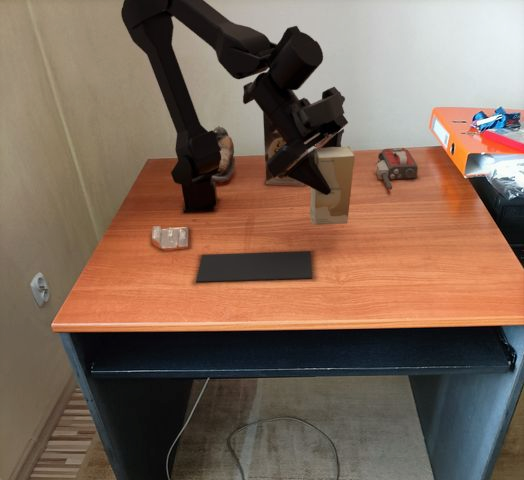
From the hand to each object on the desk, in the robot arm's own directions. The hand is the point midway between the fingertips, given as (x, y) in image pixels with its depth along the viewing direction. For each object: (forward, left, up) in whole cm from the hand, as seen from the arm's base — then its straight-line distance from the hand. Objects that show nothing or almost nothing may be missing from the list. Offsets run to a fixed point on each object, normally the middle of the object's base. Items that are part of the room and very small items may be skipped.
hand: (338, 185), depth 87 cm
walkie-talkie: (+16, +32, -12) cm, 38 cm away
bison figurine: (-25, +36, -12) cm, 46 cm away
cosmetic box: (-1, +1, -7) cm, 7 cm away
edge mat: (-15, -6, -12) cm, 20 cm away
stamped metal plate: (-32, +5, -12) cm, 34 cm away
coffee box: (-9, +32, -12) cm, 36 cm away
